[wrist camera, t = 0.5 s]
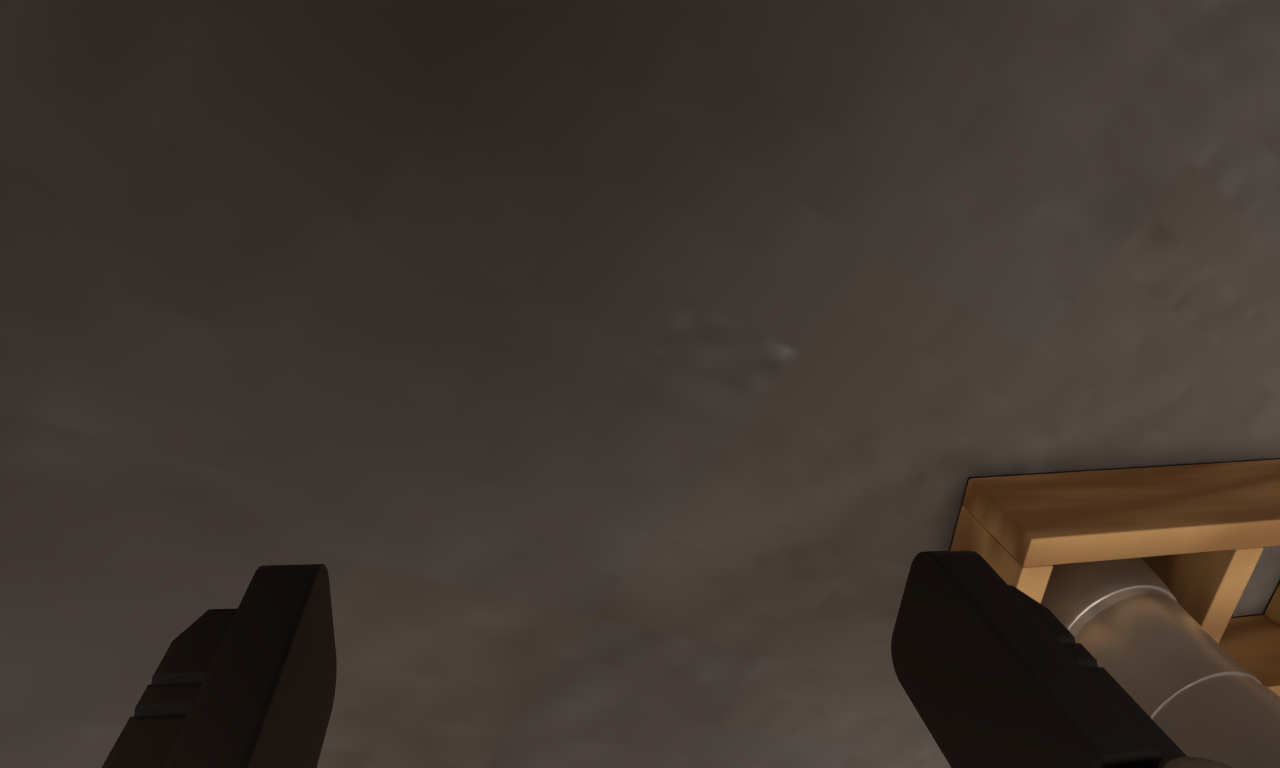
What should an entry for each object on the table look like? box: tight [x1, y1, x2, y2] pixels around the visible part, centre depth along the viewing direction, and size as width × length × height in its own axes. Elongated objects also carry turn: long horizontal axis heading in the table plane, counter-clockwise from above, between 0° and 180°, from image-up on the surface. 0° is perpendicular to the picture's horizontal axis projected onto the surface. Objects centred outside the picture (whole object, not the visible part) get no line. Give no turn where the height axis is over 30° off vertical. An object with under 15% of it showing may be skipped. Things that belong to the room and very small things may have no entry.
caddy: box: [950, 459, 1280, 697], centre depth 36 cm, size 11×21×4 cm, turn 88°
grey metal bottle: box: [1041, 558, 1280, 768], centre depth 29 cm, size 6×7×20 cm
